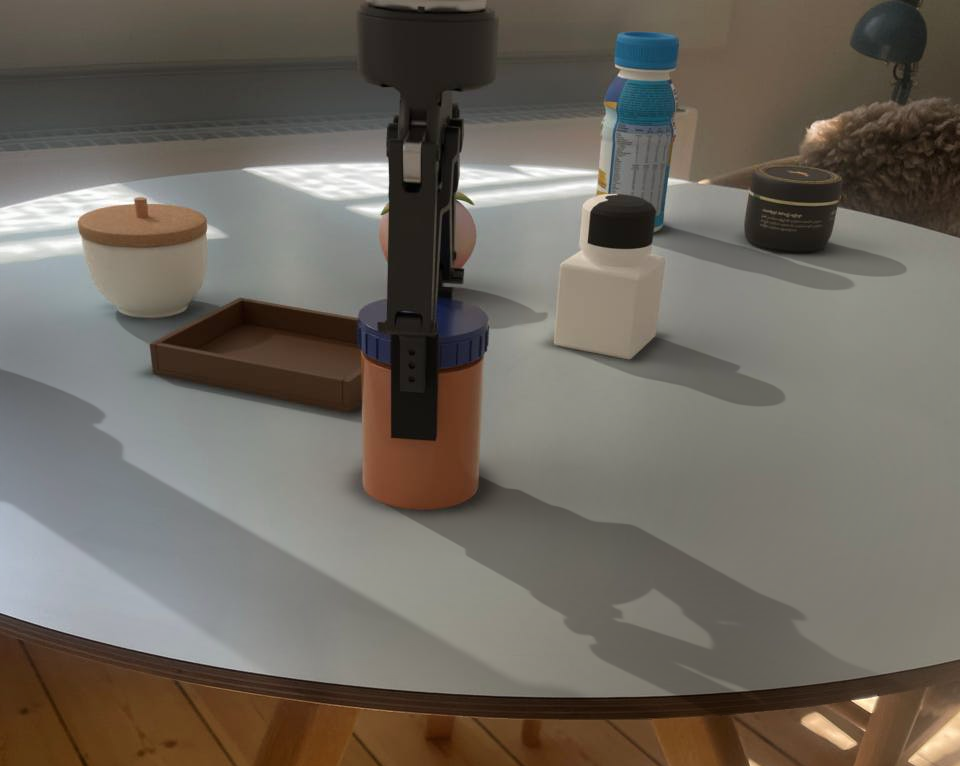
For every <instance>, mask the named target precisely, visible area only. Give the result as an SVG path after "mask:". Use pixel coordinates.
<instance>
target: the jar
mask: <svg viewBox="0 0 960 766" xmlns="http://www.w3.org/2000/svg"><path fill="white" fill-rule="evenodd" d="M842 188H843V178H842V177H841V176H840V175H839V174H838V173H835V172H833V171H831V170H827V169H822V168H817V167H812V166H805V165H795V164H767V165H762V166H758V167H756V168H755V169H754V170H753V171H752V173H751V177H750V180H749V187H748V190H747V191H748V192H747V193H748V196H747V203H746V208H745V215H744V221H743V227H744V229H743V230H744V238H745V239H746V241H747V243H748V244H749V245H751V246H753V247H754V248H758V249H760V250H764V251H768V252H773V253H779V254H791V255H807V254H809V255H810V254H815V253H818V252H821V251H822V250H823V249H824V248H825V247H826V246H827V245H828V243H829V241H830V238H831V237H832V233H833V232H834V231H833V230H834V225H835V221H836V215H837V211H838V205H839V202H841V193H842Z"/></svg>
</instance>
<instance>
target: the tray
mask: <svg viewBox="0 0 960 766" xmlns="http://www.w3.org/2000/svg"><path fill="white" fill-rule="evenodd" d="M357 322H358V317H354V316H349V315H342V314H338V313H336V314H335V313H332V312H327V311H320V310H314V309H308V308H303V307H298V306H297V307H296V306H292V305H285V304H280V303H275V302H274V303H273V302H270V301H269V302H268V301H262V300H256V299H250V298H244V297H238V298H236V299H234V300H232V301H230V302H227V303H226V304H223V306H221V307H218V308H216V309H214V310H213V311H210V312H209V313H207V314H205V315H203V316H200V317H198V318H197V319H195V320H193V321H191V322H189V323H187V324H185V325H183V326H181V327H179V328H177V329H175V330H173V331H171V332H170V333H167V334H165V335H163V336H161V337H160V338H157V339H156V340H154V341H151V342H150V343H149V352H150V360H151V368H152V374H153V375H158V376H163V377H167V378H173V379H178V380H182V381H187V382H193V383H198V384H203V385H208V386H212V387H219V388H221V389H222V388H224V389H226V390H227V389H229V390H231V391H238V392H243V393H248V394H252V395H253V394H254V395H258V396H262V397H268V398H272V399H278V400H283V401H288V402H293V403H298V404H302V405H308V406H314V407H318V408H322V409H328V410H333V411H338V412H343V413H348V414H351V413H353V412H354V411H356V410H357V409H358V408H359V407H360V406H362V395H361V349H359V343H357Z"/></svg>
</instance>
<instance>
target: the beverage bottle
mask: <svg viewBox="0 0 960 766" xmlns="http://www.w3.org/2000/svg"><path fill="white" fill-rule="evenodd" d="M679 41H680V38H679V37H678V36H677V35H674V34H669V33H663V32H656V31H655V32H654V31H623V32H619V33H618V34H617V37H616V41H615V52H614V67H615V68H616V69H618V70H619V72H618V74H617V75H616V76H615V77H614V78H613V80H612V82H611V84H610V85H609V87H608V89H607V91H606V94H605V97H604V99H603V106H604V108H605V115H604V117H603V118H602V120H601V122H600V127H599V136H600V138H601V139H600V149H599V162H598V173H597V183H596V184H597V185H596V186H597V187H596V195H595V196H598V195H603V194H624V195H631V196H636V197H640V198H642V199H644V200H646V201H648V202H649V203H651V204H652V205H653V206H654V208H655V209H656V217H655V225H654V233H657V232H658V231H660V230H661V229H662V228H663V226H664V222H665V221H664V220H665V207H666V200H667V199H666V198H667V191H668V185H669V177H670V170H671V161H672V153H673V147H674V142H675V139H676V136H677V125H676V123H675V115H676V113H677V112H678V111H679V99H678V94H677V91H676V87H675V84H674V83H673V80H672V79H671V76H670V73H672V72H674V71H676V68H677V66H678V65H677V64H678V57H679V48H680V42H679Z"/></svg>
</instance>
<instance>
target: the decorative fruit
mask: <svg viewBox="0 0 960 766" xmlns="http://www.w3.org/2000/svg"><path fill="white" fill-rule="evenodd" d="M461 201H462V202H465V203H468V204H470V205H471V206H475V203H474V201H473V200H471V198H469V197H468V196H467V195H466V194H464V193H463V192H460V191H458V190H457V191H456V226H455V251H456V252H457V260H456V261H455V262H454V266H453V265H452V266H453V268H464V266H465V265H466V264H467V262H468V261H469V259H470V258H471V256H472V255H473V252H474V250H475V247H476V243H477V237H478V236H477V228H476V224H475V220H474V218H473V216H472V215H471V213H470V211H469V210H468V208H467V207H465V205H464V204H463V203H462V202H461ZM380 216H381V218H380V221H379V226H378V238H379V243H380V247H381V250H382V253H383V256H384V258H385V260H386V263H387V264H388V223H389V201H388V202H387V203H386V204H385V206H384V207H383V209H382V211H381V212H380Z"/></svg>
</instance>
